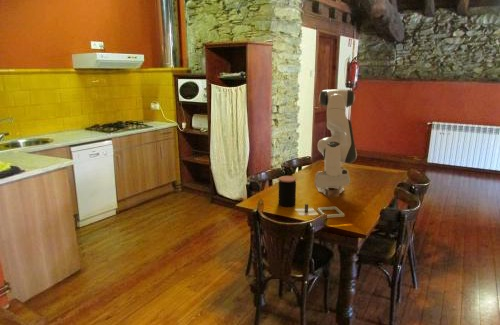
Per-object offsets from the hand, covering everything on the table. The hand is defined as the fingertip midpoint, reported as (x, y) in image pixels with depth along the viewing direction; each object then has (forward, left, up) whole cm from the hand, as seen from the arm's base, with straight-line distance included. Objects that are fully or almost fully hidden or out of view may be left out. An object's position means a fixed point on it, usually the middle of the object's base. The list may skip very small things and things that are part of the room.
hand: (331, 193), depth 203 cm
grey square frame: (0, 0, -13) cm, 13 cm away
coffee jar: (-19, -21, -14) cm, 32 cm away
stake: (-5, -13, -13) cm, 19 cm away
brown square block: (0, 0, -1) cm, 1 cm away
